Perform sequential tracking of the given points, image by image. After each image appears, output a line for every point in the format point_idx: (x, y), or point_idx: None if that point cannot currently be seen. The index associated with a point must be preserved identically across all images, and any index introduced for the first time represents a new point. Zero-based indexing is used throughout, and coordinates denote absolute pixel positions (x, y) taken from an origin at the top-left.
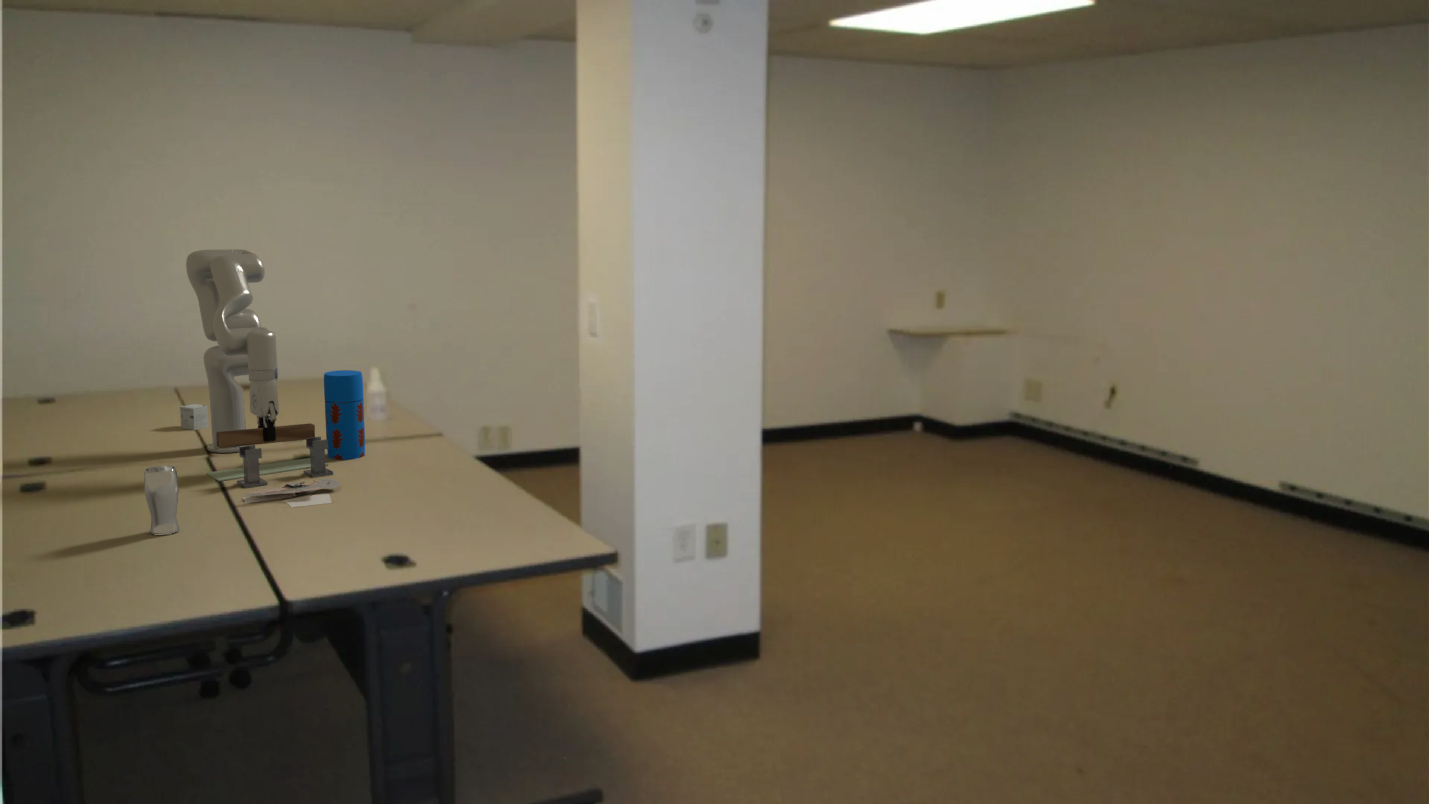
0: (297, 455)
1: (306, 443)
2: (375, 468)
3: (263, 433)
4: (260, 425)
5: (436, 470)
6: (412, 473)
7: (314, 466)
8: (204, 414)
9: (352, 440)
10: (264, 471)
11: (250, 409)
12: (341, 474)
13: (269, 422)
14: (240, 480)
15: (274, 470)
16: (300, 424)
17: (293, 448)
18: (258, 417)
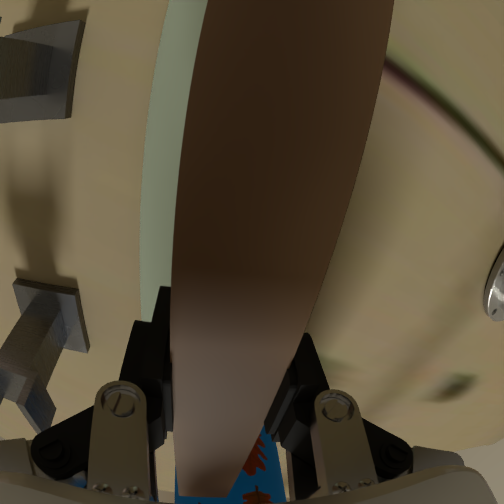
0: (334, 370)
1: (29, 386)
2: (62, 406)
3: (157, 330)
4: (295, 397)
5: (20, 428)
6: (8, 406)
7: (22, 317)
8: None
9: (175, 470)
10: (175, 188)
11: (474, 496)
12: None
13: (36, 436)
14: (71, 33)
15: (163, 229)
16: (227, 486)
17: (400, 378)
18: (332, 468)
